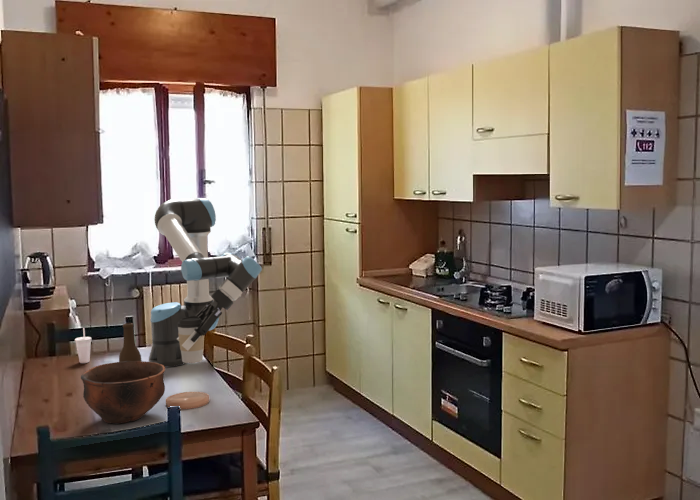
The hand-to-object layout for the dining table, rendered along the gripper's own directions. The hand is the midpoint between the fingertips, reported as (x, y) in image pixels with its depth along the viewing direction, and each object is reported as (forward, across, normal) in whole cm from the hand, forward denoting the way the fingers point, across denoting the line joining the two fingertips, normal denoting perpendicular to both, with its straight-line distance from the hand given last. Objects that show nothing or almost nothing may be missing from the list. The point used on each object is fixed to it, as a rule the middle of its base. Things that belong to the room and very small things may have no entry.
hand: (182, 344), depth 251 cm
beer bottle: (+23, +8, 0) cm, 25 cm away
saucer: (+12, -13, -10) cm, 21 cm away
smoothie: (+33, +60, +8) cm, 69 cm away
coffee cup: (+2, 0, -6) cm, 7 cm away
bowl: (+27, -20, +4) cm, 33 cm away
